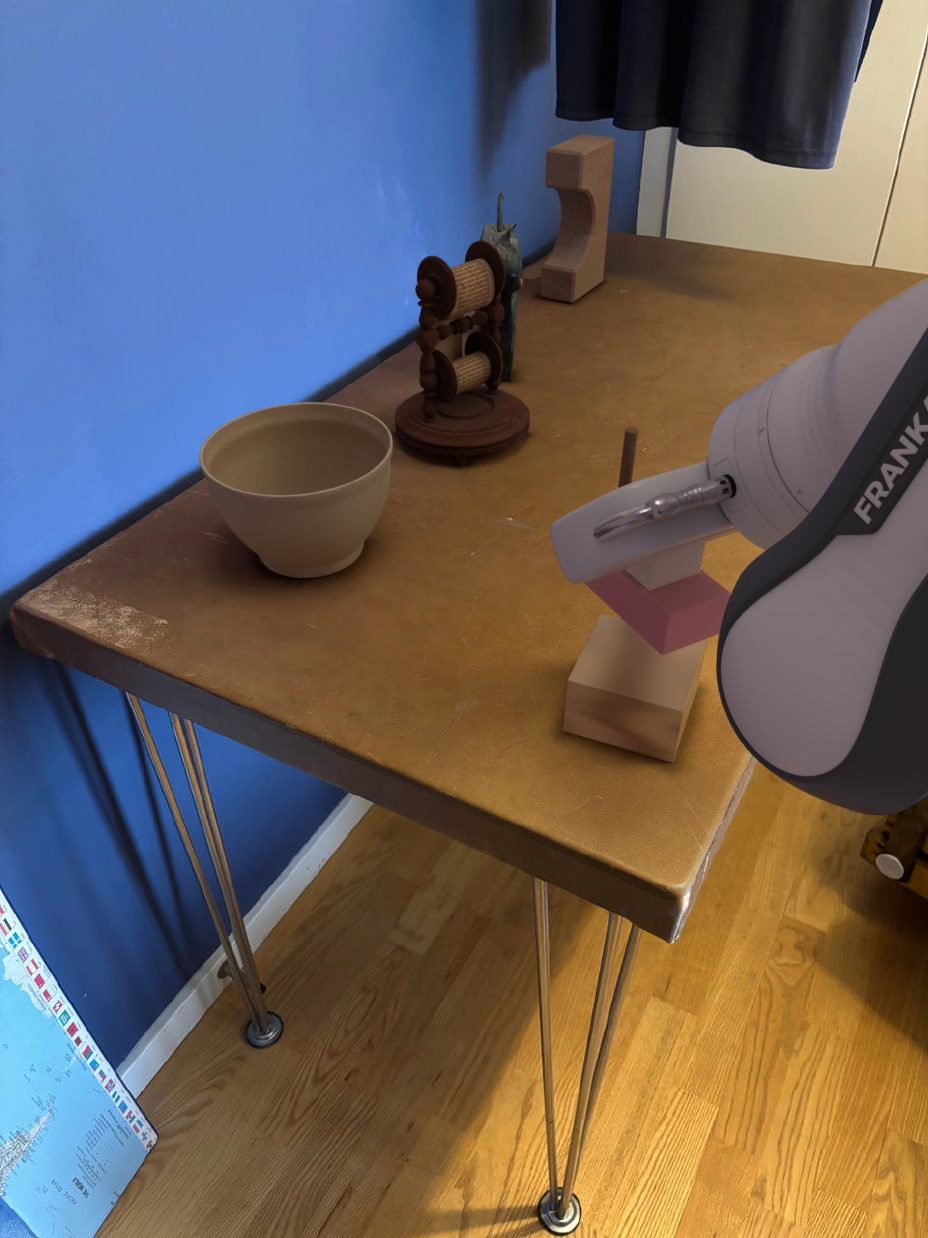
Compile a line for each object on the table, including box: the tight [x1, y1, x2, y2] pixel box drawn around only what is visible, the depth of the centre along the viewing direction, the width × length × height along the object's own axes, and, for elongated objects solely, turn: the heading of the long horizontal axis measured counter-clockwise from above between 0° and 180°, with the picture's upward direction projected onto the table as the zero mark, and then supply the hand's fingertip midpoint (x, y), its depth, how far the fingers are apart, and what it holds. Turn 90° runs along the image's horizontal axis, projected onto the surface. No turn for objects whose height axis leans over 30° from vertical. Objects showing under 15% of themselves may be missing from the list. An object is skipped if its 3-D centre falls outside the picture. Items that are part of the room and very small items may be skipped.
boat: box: [583, 426, 732, 656], centre depth 58 cm, size 12×5×11 cm, turn 28°
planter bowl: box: [198, 401, 394, 579], centre depth 80 cm, size 16×16×11 cm
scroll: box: [394, 239, 531, 466], centre depth 95 cm, size 15×15×20 cm
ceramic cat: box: [472, 192, 524, 382], centre depth 112 cm, size 20×6×20 cm, turn 179°
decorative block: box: [539, 133, 616, 304], centre depth 131 cm, size 11×6×20 cm, turn 148°
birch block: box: [562, 613, 708, 763], centre depth 66 cm, size 8×8×5 cm
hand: (654, 533), depth 57 cm, fingers closed on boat, 4 cm apart
